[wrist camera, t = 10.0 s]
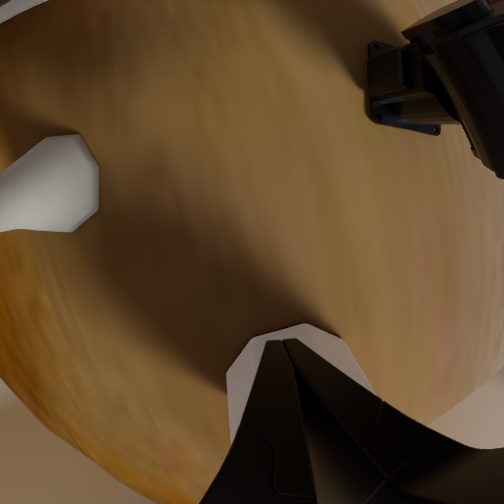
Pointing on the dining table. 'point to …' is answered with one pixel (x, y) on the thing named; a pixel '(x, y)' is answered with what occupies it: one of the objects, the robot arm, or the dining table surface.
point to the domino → (3, 2)
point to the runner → (16, 8)
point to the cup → (314, 338)
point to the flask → (50, 187)
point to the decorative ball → (494, 1)
